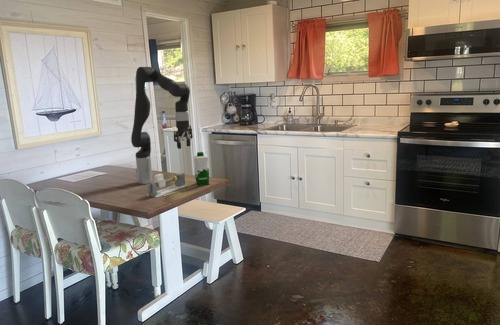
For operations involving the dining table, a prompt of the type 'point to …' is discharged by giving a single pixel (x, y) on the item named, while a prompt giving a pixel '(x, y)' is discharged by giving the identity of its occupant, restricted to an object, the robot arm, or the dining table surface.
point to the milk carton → (201, 169)
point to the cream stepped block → (159, 181)
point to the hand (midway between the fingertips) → (184, 147)
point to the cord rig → (179, 183)
